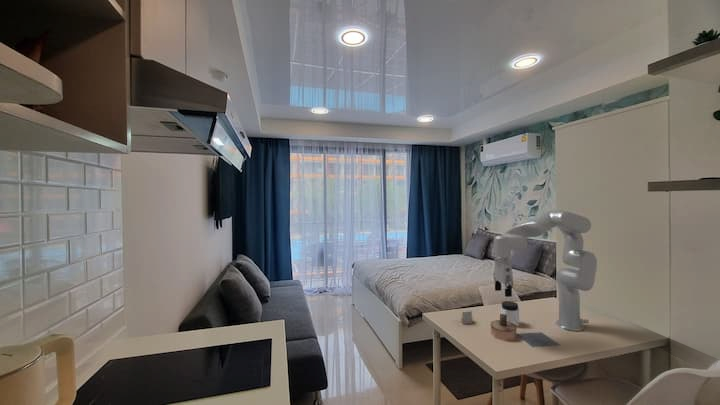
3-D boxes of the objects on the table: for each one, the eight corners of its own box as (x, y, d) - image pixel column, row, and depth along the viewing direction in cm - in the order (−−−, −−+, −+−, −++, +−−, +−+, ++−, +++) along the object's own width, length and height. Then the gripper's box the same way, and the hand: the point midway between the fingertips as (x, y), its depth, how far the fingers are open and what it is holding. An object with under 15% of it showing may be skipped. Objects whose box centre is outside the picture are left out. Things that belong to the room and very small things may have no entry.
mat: (541, 333, 160) (541, 332, 160) (560, 346, 146) (560, 345, 146) (515, 334, 159) (515, 333, 159) (532, 348, 145) (532, 346, 145)
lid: (508, 321, 164) (507, 310, 164) (521, 331, 152) (521, 319, 152) (486, 322, 163) (486, 311, 163) (498, 332, 151) (498, 320, 151)
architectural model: (459, 322, 177) (459, 309, 177) (471, 321, 178) (470, 309, 178) (462, 325, 174) (462, 312, 174) (473, 324, 175) (473, 311, 175)
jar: (512, 329, 165) (512, 307, 165) (498, 324, 172) (498, 303, 172) (521, 325, 170) (521, 303, 170) (507, 320, 177) (507, 299, 177)
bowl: (508, 331, 164) (507, 321, 163) (520, 340, 153) (520, 330, 152) (487, 332, 163) (487, 323, 163) (498, 342, 152) (498, 332, 152)
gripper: (519, 263, 149) (520, 298, 149) (500, 256, 166) (501, 288, 166) (504, 264, 148) (505, 299, 148) (487, 257, 165) (487, 288, 166)
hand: (503, 293), depth 157 cm, fingers open, 9 cm apart
